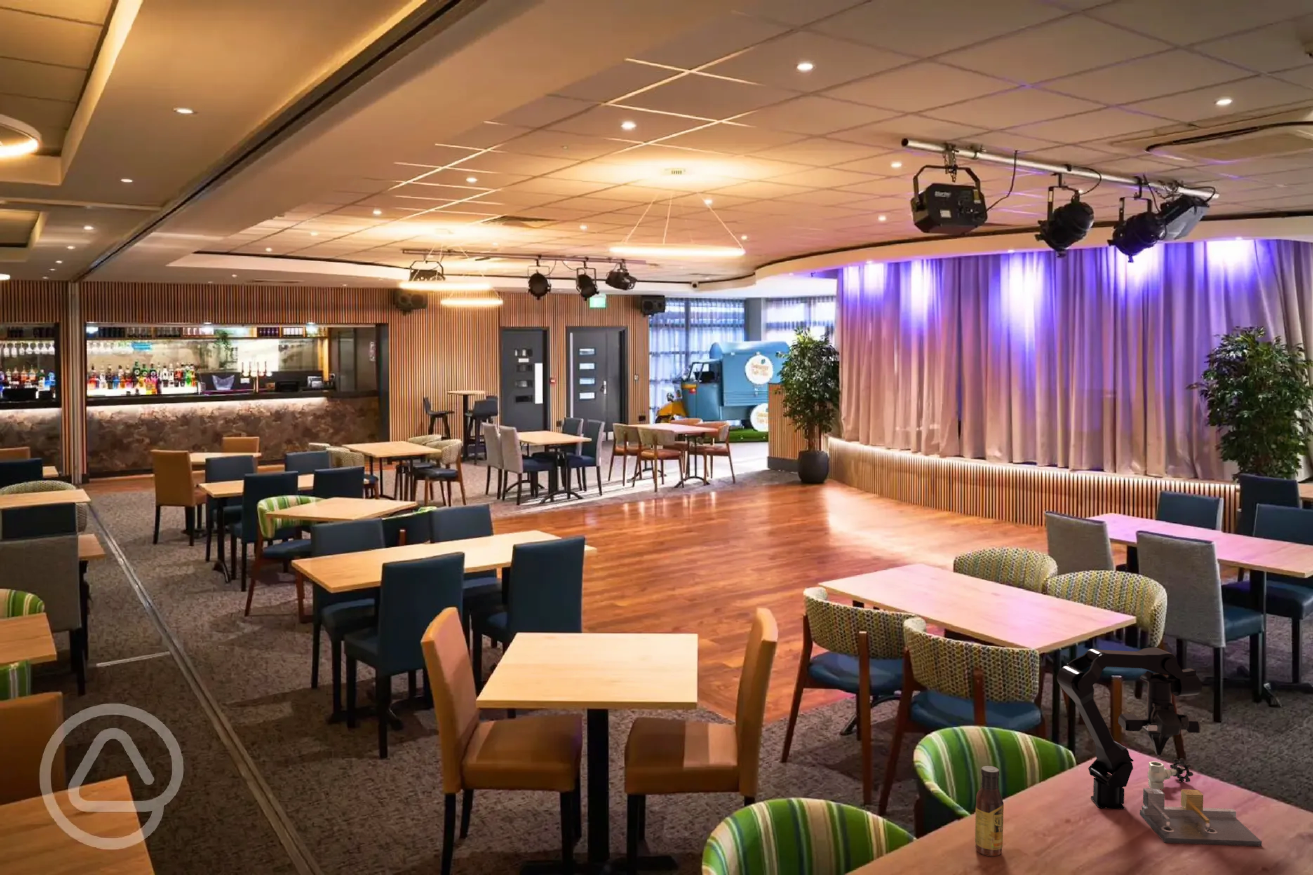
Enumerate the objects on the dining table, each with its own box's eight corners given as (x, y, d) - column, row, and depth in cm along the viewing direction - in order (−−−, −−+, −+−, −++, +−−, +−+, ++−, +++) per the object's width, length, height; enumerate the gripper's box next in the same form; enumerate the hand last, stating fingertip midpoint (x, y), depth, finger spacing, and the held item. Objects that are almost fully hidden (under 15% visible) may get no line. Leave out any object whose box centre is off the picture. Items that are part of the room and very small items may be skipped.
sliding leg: (1199, 829, 234) (1200, 807, 234) (1180, 810, 244) (1181, 789, 244) (1216, 830, 234) (1217, 808, 233) (1197, 811, 244) (1197, 789, 244)
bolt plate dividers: (1164, 842, 231) (1165, 813, 231) (1139, 814, 246) (1140, 787, 246) (1261, 846, 229) (1262, 817, 228) (1230, 817, 244) (1231, 789, 243)
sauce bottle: (999, 860, 223) (1000, 777, 222) (971, 853, 227) (973, 771, 225) (1005, 848, 229) (1006, 767, 228) (978, 841, 232) (979, 761, 231)
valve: (1160, 793, 258) (1193, 786, 263) (1161, 769, 258) (1193, 762, 262) (1140, 783, 264) (1172, 776, 269) (1140, 760, 264) (1172, 753, 268)
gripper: (1134, 706, 246) (1133, 766, 247) (1211, 708, 244) (1209, 768, 245) (1118, 692, 257) (1116, 749, 258) (1191, 693, 255) (1189, 751, 256)
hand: (1158, 754), depth 254 cm, fingers closed
